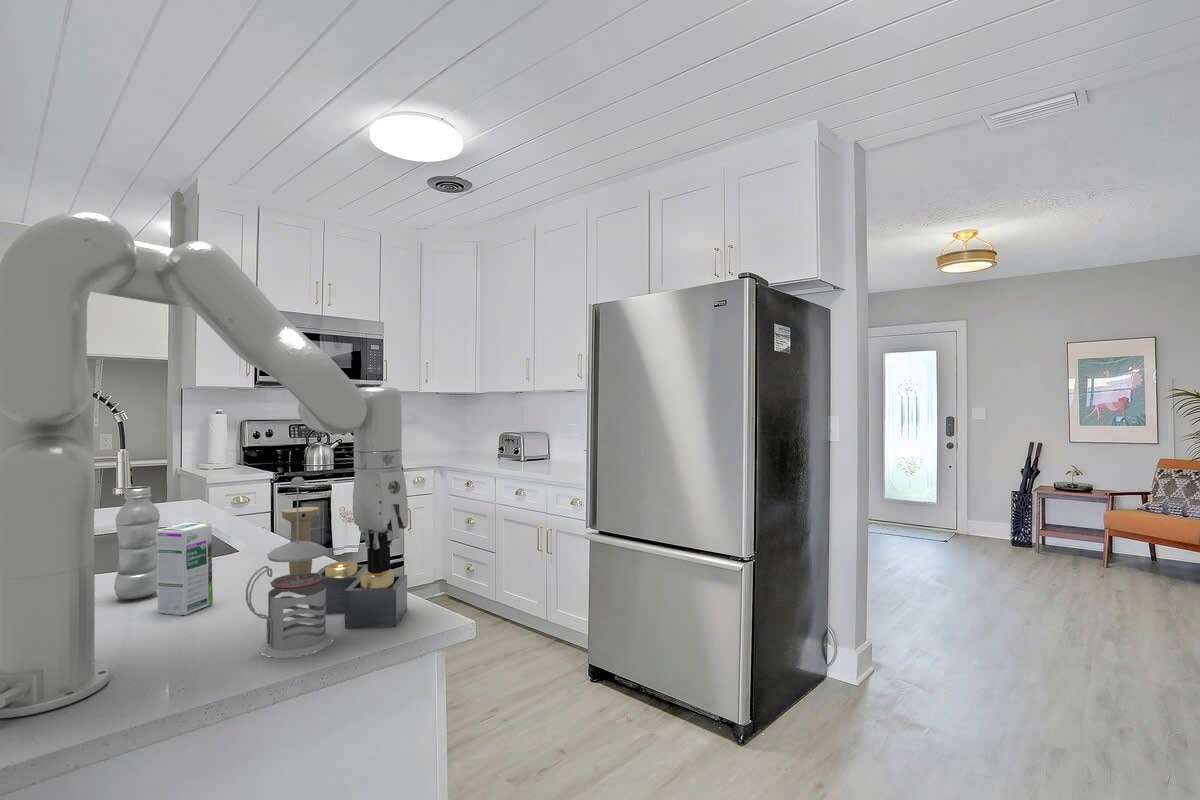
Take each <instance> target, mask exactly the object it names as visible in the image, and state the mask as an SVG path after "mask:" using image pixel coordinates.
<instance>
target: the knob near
mask: <svg viewBox="0 0 1200 800" xmlns="http://www.w3.org/2000/svg"><path fill="white" fill-rule="evenodd" d="M394 575H395V571H394V570H393V569H391V568H390V569H389V570H387V571H383V572H379V573H375V574H373V573H371V572H368V570H367V571H364V572H362V573H361V588H392V586H393V585H394Z"/></svg>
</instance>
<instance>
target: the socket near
mask: <svg viewBox="0 0 1200 800" xmlns="http://www.w3.org/2000/svg"><path fill="white" fill-rule="evenodd" d="M407 610H408V575H407V574H394V585H393V586H392V588H361V576H359V577H358V578H357V579H356V580H355V581H354V582H353V583H352V584H351V585H350V586H349V587H348V588H347V589H346V590H345V613H344V629H362V628H364V627H370V628H396V627H398V625H399V623H400V622H401V620H402V618H403V616H404V615H405V613H406V612H407Z"/></svg>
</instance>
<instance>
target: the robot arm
mask: <svg viewBox="0 0 1200 800" xmlns="http://www.w3.org/2000/svg"><path fill="white" fill-rule="evenodd" d="M91 292H92V293H96V294H100V295H101V294H102V295H107V296H113V297H120V298H125V299H132V300H136V301H137V300H138V301H143V302H148V303H155V304H161V305H168V306H176V307H185V308H191V310H192V311H194V312H195V313H196V314H197V315H198V316H199V317H200V318H201V319H202V321H204V322H205V323H206V325H207V326H209V327H210V328H211V329H212V330H213V331H214V333H216V335H218V336H219V338H220V339H221V340H222V341H223V342H224V343H225V344H226V345H227V346H228V348H230V349H231V350H232V352H234V353H235V354H236V355H237V356H238V357H239V358H241V359H242V361H245V362H246V363H247V364H249V365H250V366H251V367H254V368H256V369H258V370H260V371H262V372H263V373H266V374H267V375H269V377H271V378H273V379H274V380H275V381H277V382H278V383H279V384H280V385H282V387H284V389H287V391H288V392H289V393H290V394H291V395H293V397H295V399H297V400H298V401H299V402H298V405H297V413H298V416H299V419H300V420H301V422H302V423H303V424H304V425H305V426H306V427H308V429H311V430H313V431H316V432H320V433H327V434H333V435H347V434H350V433H352V432H353V471H354V479H353V489H352V490H353V492H352V520H353V523H354V524H355V525H356V526H357V527H358V531H359V532H360V533H362V534H363V535H364V541H365V542H364V543H365V547H366V548H367V549H366V551H367V553H366V554H367V564H366V565H367V568H368V572H371V573H373V574H375V573H379V572H383V571H387V570H389V569H391V547H392V545H393V541H395V540H399V539H400V537H401V535H400V534H401V533H400V529H401V530H402V529H406V528H407V527H408V526H409V507H408V505H409V504H408V502H409V501H408V491H407V485H406V476H405V472H404V469H402V468H403V453H402V452H403V449H402V448H403V439H402V438H403V435H402V434H403V433H402V431H403V430H402V429H403V427H402V426H403V424H402V423H403V422H402V421H403V419H402V417H403V416H402V411H403V410H402V404H403V402H402V394H401V392H400V389H398V388H396V387H394V386H393V387H392V386H364V387H363V386H362V387H359V388H358V387H357V385H356V384H354V382H353V381H352V380H351V379H350V378H349V377H348V375H347V374H345V372H344V371H343V370H342V368H340V367H339V366H338V364H337V363H336V362H335V361H334V360H333V359H331V357H330V356H329V355H328V354H327V353H326V352H324V351H323V350H322V349H321V348H320V347H319V346H318V345H317V344H315V343H314V342H313V341H312V340H311V339H309V338H308V337H307V335H305V334H304V333H303V332H302V331H301V330H300V329H299V328H297V327H296V326H295V325H294V324H292V323H291V322H290V321H289V320H288V319H287V318H286V317H285V316H284V315H283V314H282V313H281V311H280V310H279V309H278V308H276V306H275V305H274V304H273V303H272V302H271V301H270V299H268V297H267V296H266V295H265V294H264V293H263V292H262V290H260V288H259V287H257V285H256V284H255V283H254V282H253V280H252V279H251V278H250V277H249V276H248V275H247V274H246V273H245V272H244V271H243V270H242V269H241V267H240V266H239V265H238V264H237V263H236V262H235V261H234V259H233V258H231V257H230V255H228V253H227V252H226V251H224V250H223V249H221V247H219V246H217V245H216V244H214V243H212V242H208V241H206V240H205V241H204V240H192V241H187V242H184V243H181V244H180V245H178V246H176V247H174V248H172V247H167V246H162V245H155V244H151V243H145V242H142V241H138V240H134V238H133V236H132V235H131V233H130V232H129V231H128V230H127V228H126V227H125V226H124V225H122V224H121V223H120V222H119V221H117V220H116V219H114V218H112V217H110V216H108V215H106V214H103V213H99V212H95V211H84V210H83V211H72V212H64V213H61V214H56V215H53V216H50V217H48V218H45V219H43V220H40V221H38V222H37V223H34V224H32V225H30V226H29V227H28V228H26V229H25V230H23V231H22V232H21V233H20V234H19V235H18V236H17V237H16V238H15V239H14V240H13V241H12V242H11V244H10V245H9V246H8V248H7V249H6V250H5V252H4V254H3V256H2V257H1V261H0V719H9V718H10V719H11V718H19V717H24V716H30V715H37V714H40V713H44V712H48V711H51V710H55V709H58V708H62V707H64V706H68V705H70V704H73V703H76V702H78V701H79V700H83V699H86V698H87V697H89V696H91V695H93V694H94V693H96V692H99V690H100V689H102V688H103V687H104V686H106V684H108V683H109V681H110V680H111V678H110V677H111V670H110V667H109V666H107V665H106V664H103V663H98V662H95V643H96V642H95V635H96V634H95V626H96V625H95V616H96V615H95V610H96V609H95V597H96V596H95V594H96V593H95V589H96V588H95V584H96V583H95V577H96V576H95V575H96V574H95V500H96V498H95V497H96V468H95V467H96V466H95V449H94V448H95V444H94V394H93V393H94V387H93V380H92V378H91V375H90V373H89V367H88V366H89V365H88V347H87V332H88V301H89V297H90V294H91Z"/></svg>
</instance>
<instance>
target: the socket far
mask: <svg viewBox="0 0 1200 800" xmlns="http://www.w3.org/2000/svg"><path fill="white" fill-rule="evenodd" d="M325 566H326V565H324V566H323V567H322V568H321V569H319V570H318V571H317V572H316V573H318V574H321V575H323V577H324V579H323V580H322V581H321V582H320V583H322V584H324V585H325V586H326V614H345V590H346V589H347V588H348V587H349V586H350V585H351V584H352V583H353V582H354V581H355V580H356V579H357V578H358V577H359V576H361V573H362V572H364V571H367V570H368V568H367V564H357V573H356V574H355V575H354V576H329V577H325ZM312 608H316V606H313V605H308V609H312Z"/></svg>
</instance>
